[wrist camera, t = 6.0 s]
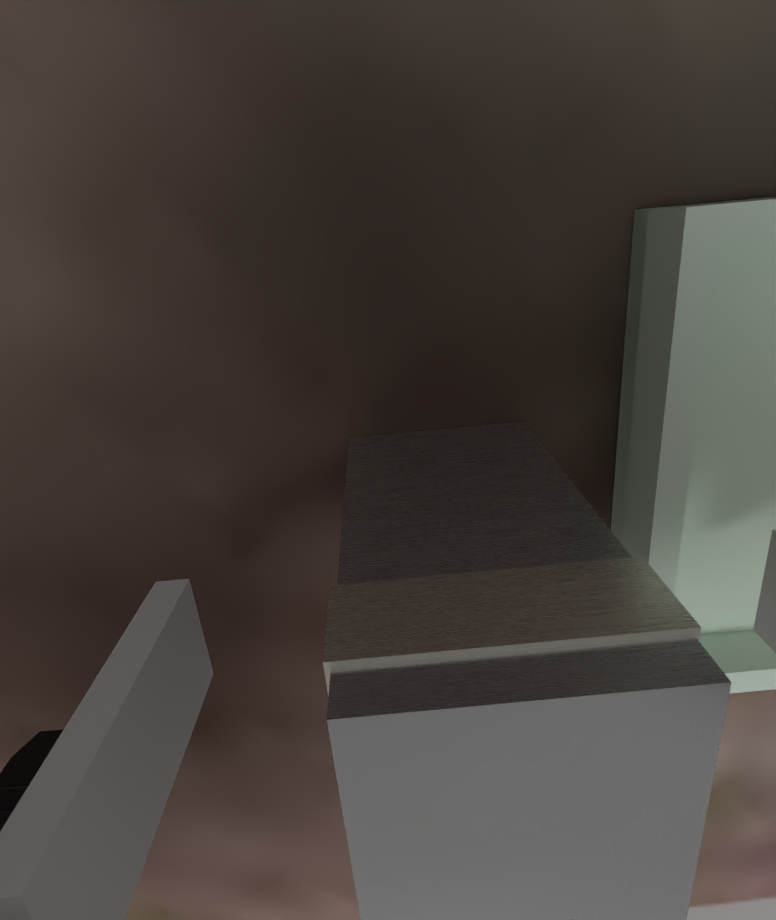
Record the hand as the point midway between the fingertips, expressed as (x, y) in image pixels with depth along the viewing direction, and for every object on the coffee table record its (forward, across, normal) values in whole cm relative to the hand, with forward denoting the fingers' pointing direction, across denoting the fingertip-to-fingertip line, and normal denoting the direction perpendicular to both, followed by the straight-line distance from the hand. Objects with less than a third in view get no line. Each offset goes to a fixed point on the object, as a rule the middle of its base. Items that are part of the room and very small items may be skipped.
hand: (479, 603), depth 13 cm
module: (+4, 0, 0) cm, 5 cm away
